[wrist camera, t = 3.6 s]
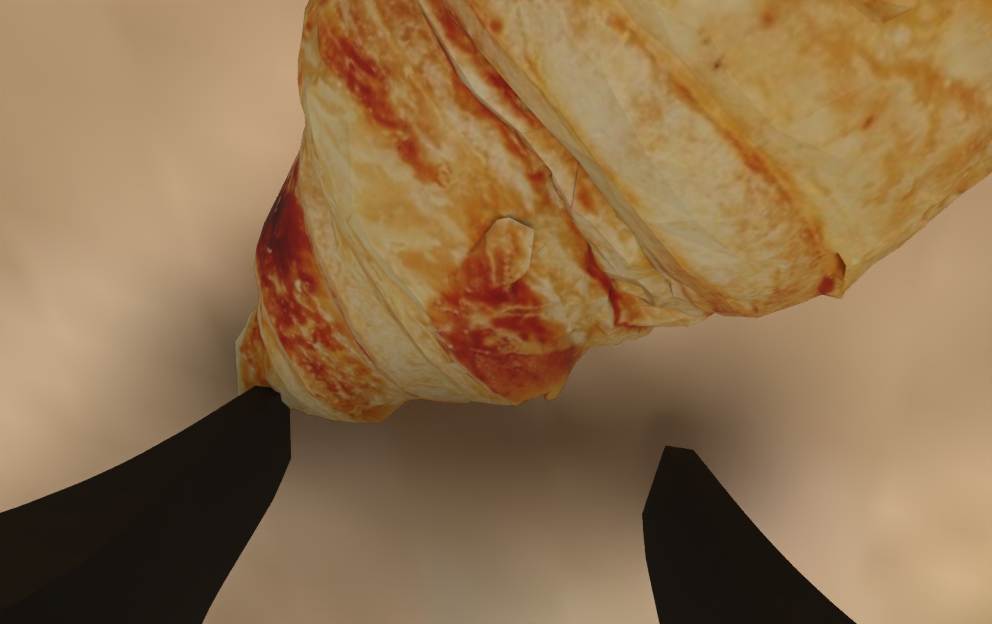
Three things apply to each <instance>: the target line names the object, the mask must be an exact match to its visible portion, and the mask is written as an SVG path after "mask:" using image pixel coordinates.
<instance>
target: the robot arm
mask: <svg viewBox="0 0 992 624" xmlns="http://www.w3.org/2000/svg"><path fill="white" fill-rule="evenodd" d="M290 459H291V440H290V408H289V407H288V406H287V405H286V404H285V403H283V402H282V399H281V393H279V392H276V391H274V390H273V389H272V388H271V387H263V386H257V385H256V386H254V387H252V388H251V389H249V390H247V391H246V392H244V393H243V394H241V395H239V396H238V397H236V398H235V399H233V400H232V401H230V402H228V403H227V404H225V405H224V406H222V407H221V408H219V409H217V410H216V411H214V412H213V413H211V414H209V415H208V416H206V417H204V418H203V419H201V420H200V421H198V422H196V423H195V424H193V425H191V426H190V427H188V428H186V429H185V430H183V431H181V432H179V433H178V434H176V435H174V436H172V437H170V438H169V439H167V440H165V441H163V442H161V443H160V444H158V445H156V446H154V447H152V448H151V449H149V450H147V451H145V452H144V453H142V454H140V455H138V456H136V457H134V458H132V459H130V460H128V461H126V462H124V463H122V464H120V465H118V466H116V467H114V468H112V469H109V470H107V471H105V472H103V473H101V474H98V475H96V476H94V477H92V478H90V479H87V480H85V481H83V482H81V483H78V484H76V485H73V486H71V487H68V488H66V489H63V490H60V491H58V492H55V493H53V494H50V495H48V496H45V497H43V498H40V499H37V500H35V501H32V502H30V503H27V504H25V505H22V506H19V507H16V508H13V509H10V510H7V511H4V512H2V513H0V624H202V623H203V621H204V618H205V616H206V614H207V612H208V610H209V608H210V606H211V604H212V603H213V601H214V599H215V597H216V595H217V593H218V592H219V590H220V588H221V586H222V585H223V583H224V581H225V580H226V578H227V576H228V575H229V573H230V571H231V570H232V568H233V566H234V565H235V563H236V561H237V560H238V558H239V556H240V555H241V553H242V551H243V550H244V548H245V546H246V545H247V543H248V541H249V540H250V538H251V536H252V535H253V533H254V531H255V530H256V528H257V526H258V524H259V523H260V521H261V519H262V518H263V516H264V514H265V513H266V511H267V509H268V507H269V506H270V504H271V502H272V500H273V499H274V496H275V494H276V492H277V490H278V488H279V485H280V483H281V481H282V478H283V476H284V474H285V471H286V469H287V466H288V464H289V462H290ZM642 519H643V533H644V545H645V555H646V562H647V567H648V572H649V576H650V581H651V586H652V591H653V595H654V600H655V604H656V609H657V614H658V618H659V623H660V624H856V623H855V622H854V621H853V620H852V619H850V618H849V617H848V616H847V615H846V614H844V613H843V612H842V611H841V610H840V609H839V608H838V607H836V606H835V605H834V604H833V603H832V602H831V601H830V600H829V599H827V598H826V597H825V596H824V595H823V594H822V593H821V592H820V591H819V590H818V589H817V588H816V587H815V586H814V585H812V584H811V583H810V582H809V581H808V580H807V579H806V578H805V577H804V576H803V575H802V574H801V573H800V572H799V571H798V570H797V569H796V568H795V567H794V566H793V565H792V564H791V563H790V562H789V561H788V560H787V559H786V558H785V557H784V556H783V555H782V554H781V553H780V552H779V551H778V550H777V548H776V547H775V546H774V545H773V544H772V543H771V542H770V541H769V540H768V539H767V538H766V537H765V536H764V534H763V533H762V532H761V531H760V530H759V529H758V528H757V527H756V525H755V524H754V523H753V522H752V521H751V520H750V519H749V517H748V516H747V515H746V514H745V513H744V511H743V510H742V509H741V508H740V507H739V506H738V504H737V503H736V502H735V501H734V500H733V498H732V497H731V496H730V495H729V493H728V492H727V491H726V490H725V488H724V487H723V486H722V485H721V484H720V482H719V481H718V480H717V479H716V477H715V476H714V475H713V474H712V472H711V471H710V470H709V469H708V467H707V466H706V465H705V464H704V462H703V461H702V460H701V459H700V457H699V456H698V455H697V454H696V453H695V452H694V450H691V449H684V448H678V447H672V446H665V448H664V451H663V454H662V457H661V460H660V463H659V466H658V469H657V472H656V475H655V478H654V481H653V484H652V487H651V489H650V492H649V495H648V498H647V501H646V504H645V507H644V510H643V513H642Z"/></svg>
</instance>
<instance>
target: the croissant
mask: <svg viewBox="0 0 992 624" xmlns="http://www.w3.org/2000/svg"><path fill="white" fill-rule="evenodd" d="M298 86H299V93H300V101H301V105H302V108H303V111H304V114H305V128H304V131H303V136H302V142H301V147H300V151H299V153H298V155H297V157H296V159H295V161H294V163H293V165H292V168H291V170H290V172H289V174H288V176H287V178H286V180H285V182H284V184H283V186H282V188H281V191H280V193H279V195H278V197H277V199H276V201H275V203H274V205H273V207H272V209H271V211H270V213H269V215H268V217H267V219H266V221H265V223H264V226H263V229H262V232H261V235H260V238H259V241H258V244H257V249H256V256H255V264H254V270H255V275H256V281H257V286H258V291H259V301H258V304H257V306H256V307H255V308H254V310H253V311H252V313H251V314H250V315H249V317H248V320H247V324H246V326H245V328H244V329H243V331H242V332H241V334H240V335H239V337H238V338H237V340H236V342H235V349H236V370H237V385H238V396H239V395H241V394H243V393H244V392H246V391H247V390H249V389H251V388H252V387H254V386H256V385H257V386H263V387H271V388H272V389H273V390H274V391H276V392H279V393H281V399H282V402H283V403H285V404H286V405H287V406H288V407H289V408H290V410H293V409H297V410H299V411H301V412H303V413H305V414H307V415H309V416H310V415H317V416H320V417H322V418H325V419H328V420H330V421H333V420H337V421H346V422H350V423H378V422H382V421H384V420H385V419H387V418H388V417H389V416H390V415H391V414H392V413H393V412H394V411H396V410H397V409H398V408H399V407H400V406H401V405H402V404H403V403H405V402H406V401H407V400H412V399H428V400H430V401H438V402H454V403H468V402H471V401H474V402H482V403H489V404H499V405H509V406H510V405H511V404H512V405H514V406H516V405H519V404H521V403H523V402H525V401H527V400H529V399H532V398H534V397H537V396H540V395H544V398H545V400H549V399H555V398H556V397H557V396H558V395H559V393H560V392H561V390H562V389H563V387H564V385H565V384H566V382H567V379H568V376H569V374H570V372H571V370H572V368H573V367H574V365H575V363H576V362H577V361H578V359H579V358H580V357H581V356H582V355H583V354H584V353H585V352H586V351H587V350H588V349H589V348H590V347H594V346H602V345H617V344H619V343H621V342H623V341H625V340H627V339H633V340H636V339H638V338H640V337H642V336H644V335H647V334H649V333H650V332H651V330H652V329H653V328H654V327H681V326H690V325H693V324H695V323H698V322H700V321H703V320H704V319H706V318H707V317H709V316H710V315H712V314H713V313H717V314H720V315H723V316H742V317H754V318H758V317H761V316H764V315H767V314H770V313H773V312H776V311H779V310H782V309H785V308H788V307H791V306H794V305H797V304H799V303H802V302H805V301H808V300H809V299H812V298H814V297H817V296H820V295H826V296H830V297H834V298H838V299H842V297H843V295H844V293H845V291H846V290H847V289H848V288H849V287H850V286H851V285H852V284H853V283H854V282H855V281H856V280H857V279H858V278H859V277H860V276H861V275H862V274H863V273H864V272H865V271H866V270H867V269H868V268H869V267H870V266H871V265H873V264H874V263H876V262H878V261H879V260H881V259H882V258H884V257H885V256H887V255H888V254H890V253H891V252H893V251H894V250H896V249H898V248H899V247H900V246H901V245H903V244H904V243H905V242H906V241H907V240H908V239H910V238H911V237H912V236H913V235H914V234H915V233H916V232H918V231H919V230H920V229H922V228H923V227H925V225H926V224H927V223H928V222H929V221H930V220H932V219H933V218H934V217H935V216H936V215H937V214H939V213H940V212H941V211H942V210H943V209H945V208H946V207H947V206H948V205H949V204H950V203H952V202H953V201H954V200H955V199H956V198H958V197H959V196H960V195H961V194H963V193H964V192H965V191H967V190H968V189H970V188H971V187H972V186H974V185H975V184H977V183H978V182H979V181H981V180H982V179H984V178H985V177H987V176H988V175H989V174H990V173H991V172H992V0H309V2H308V4H307V6H306V8H305V15H304V24H303V32H302V39H301V45H300V51H299V58H298Z"/></svg>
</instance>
